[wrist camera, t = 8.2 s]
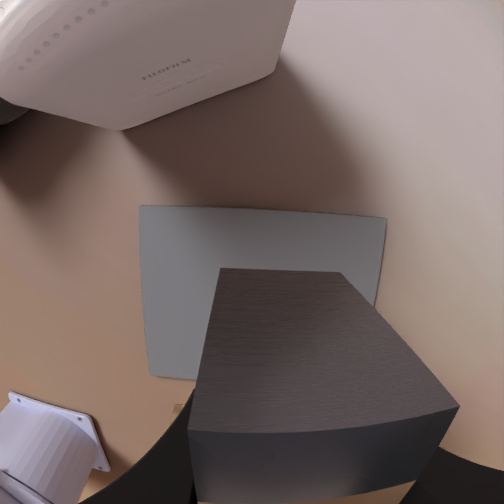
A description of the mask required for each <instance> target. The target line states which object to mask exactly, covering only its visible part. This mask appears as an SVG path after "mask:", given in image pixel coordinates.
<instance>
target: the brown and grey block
mask: <svg viewBox="0 0 504 504" xmlns="http://www.w3.org/2000/svg"><path fill="white" fill-rule="evenodd" d="M459 407H460V405H459V404H458V403H457V402H456V400H455V399H454V398H453V397H452V396H451V394H450V393H449V392H448V391H447V390H446V388H445V387H444V386H443V385H442V384H441V383H440V381H439V380H438V379H437V378H436V377H435V376H434V374H433V373H432V372H431V371H430V370H429V369H428V367H427V366H426V365H425V364H424V363H423V362H422V361H421V359H420V358H419V357H418V356H417V355H416V354H415V353H414V351H413V350H412V349H411V348H410V347H409V346H408V345H407V344H406V342H405V341H404V340H403V339H402V338H401V337H400V336H399V335H398V334H397V332H396V331H395V330H394V329H393V328H392V327H391V326H390V325H389V324H388V322H387V321H386V320H385V319H384V318H383V317H382V316H381V315H380V314H379V313H378V312H377V311H376V309H375V308H374V307H373V306H372V305H371V304H370V303H369V302H368V301H367V300H366V299H365V298H364V297H363V296H362V294H361V293H360V292H359V291H358V290H357V289H356V288H355V287H354V286H353V285H352V284H351V283H350V282H349V281H348V280H347V279H346V278H345V277H344V276H343V275H342V273H341V272H322V271H292V270H265V269H241V268H220V272H219V276H218V281H217V286H216V290H215V295H214V299H213V304H212V309H211V313H210V318H209V323H208V327H207V332H206V337H205V342H204V347H203V352H202V357H201V362H200V366H199V371H198V377H197V382H196V387H195V392H194V397H193V402H192V407H191V413H190V418H189V423H188V429H187V431H188V439H189V447H190V455H191V463H192V470H193V477H194V484H195V490H196V496H197V503H198V504H399V503H400V501H401V500H402V499H403V497H404V496H405V495H406V493H407V492H408V491H409V489H410V488H411V487H412V485H413V484H414V482H415V481H416V480H417V478H418V477H419V475H420V474H421V472H422V471H423V469H424V468H425V466H426V465H427V463H428V462H429V460H430V459H431V457H432V455H433V454H434V452H435V451H436V449H437V447H438V446H439V444H440V442H441V440H442V439H443V437H444V435H445V433H446V432H447V430H448V428H449V426H450V424H451V423H452V421H453V419H454V417H455V415H456V413H457V411H458V409H459Z"/></svg>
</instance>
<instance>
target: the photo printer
mask: <svg viewBox="0 0 504 504" xmlns="http://www.w3.org/2000/svg"><path fill="white" fill-rule="evenodd" d="M295 2H296V0H0V97H1V98H3V99H5V100H6V101H8V102H10V103H12V104H15V105H18V106H22V107H27V108H31V109H35V110H39V111H42V112H46V113H50V114H54V115H58V116H62V117H66V118H70V119H73V120H77V121H81V122H84V123H88V124H91V125H95V126H98V127H102V128H105V129H109V130H113V131H119V130H124V129H128V128H131V127H135V126H138V125H140V124H143V123H145V122H148V121H151V120H153V119H155V118H158V117H160V116H163V115H166V114H168V113H171V112H173V111H176V110H179V109H181V108H184V107H186V106H189V105H192V104H194V103H197V102H199V101H202V100H205V99H208V98H210V97H213V96H216V95H218V94H221V93H224V92H226V91H229V90H232V89H235V88H238V87H241V86H243V85H246V84H249V83H252V82H254V81H257V80H259V79H261V78H264V77H265V76H267V75H269V74H271V73H272V72H273V71H274V70H275V67H276V64H277V61H278V58H279V55H280V51H281V48H282V44H283V41H284V38H285V34H286V31H287V28H288V25H289V21H290V18H291V15H292V12H293V8H294V5H295Z"/></svg>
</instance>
